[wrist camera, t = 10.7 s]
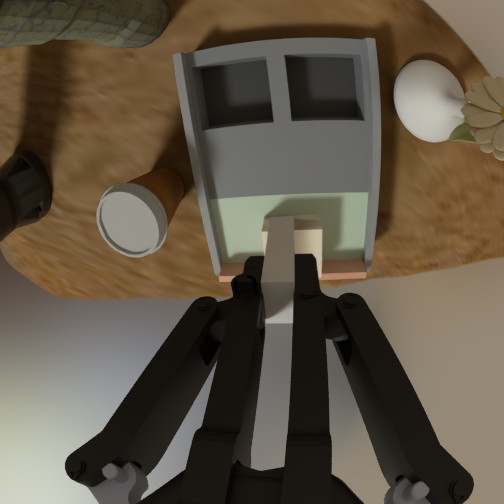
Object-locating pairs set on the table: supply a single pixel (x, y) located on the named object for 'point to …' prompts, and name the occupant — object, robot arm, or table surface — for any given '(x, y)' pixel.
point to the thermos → (82, 21)
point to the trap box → (285, 145)
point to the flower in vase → (450, 107)
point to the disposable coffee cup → (140, 212)
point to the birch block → (303, 236)
